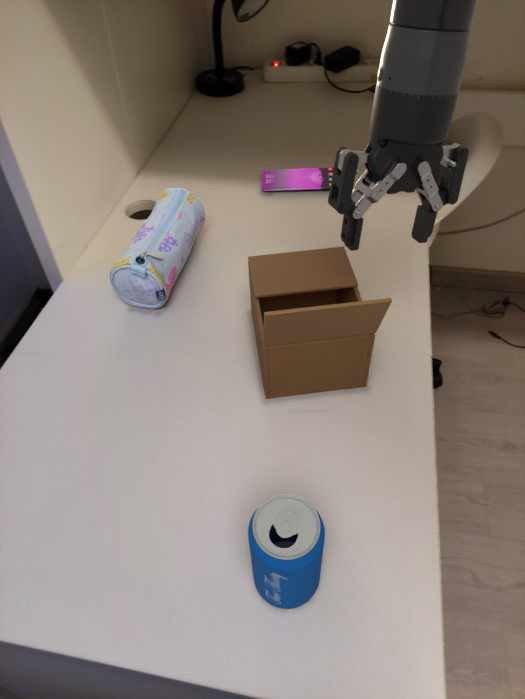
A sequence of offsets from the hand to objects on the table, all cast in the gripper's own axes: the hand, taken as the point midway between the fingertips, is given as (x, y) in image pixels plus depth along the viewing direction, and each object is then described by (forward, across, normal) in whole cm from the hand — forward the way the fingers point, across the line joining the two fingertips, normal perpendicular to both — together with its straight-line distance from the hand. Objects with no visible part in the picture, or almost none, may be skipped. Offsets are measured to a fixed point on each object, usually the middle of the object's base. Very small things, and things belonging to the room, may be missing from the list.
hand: (385, 243), depth 59 cm
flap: (+6, -9, -4) cm, 11 cm away
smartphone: (+10, +10, +46) cm, 48 cm away
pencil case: (+17, -20, +30) cm, 40 cm away
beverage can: (+24, -18, -21) cm, 37 cm away
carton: (+18, -5, +7) cm, 20 cm away
